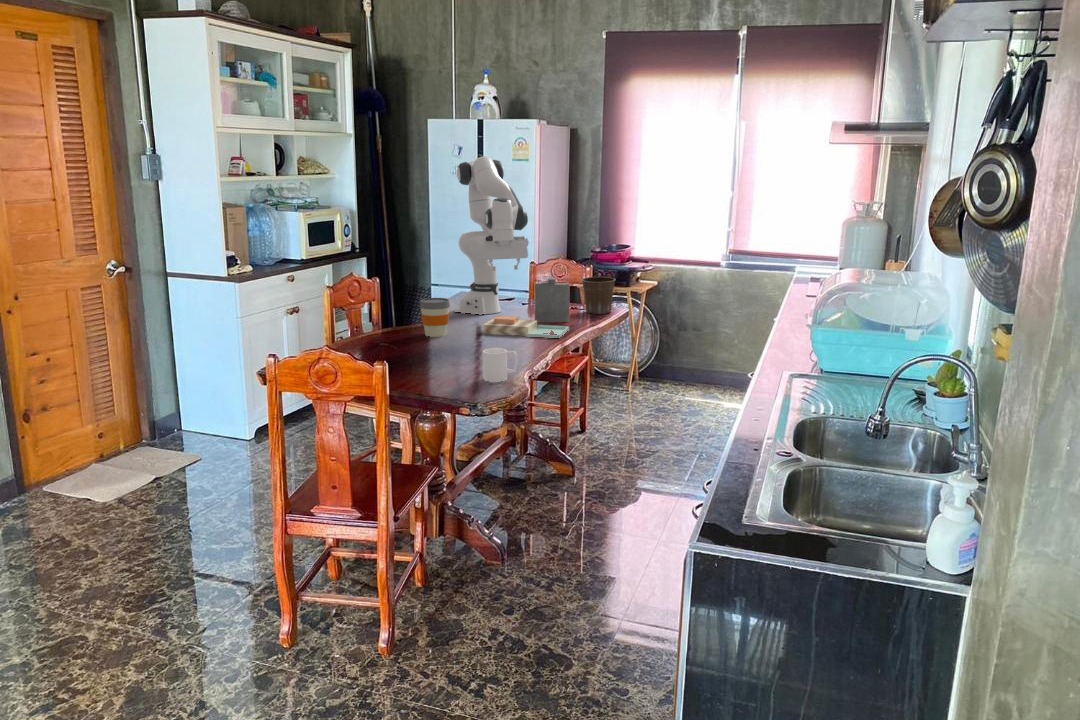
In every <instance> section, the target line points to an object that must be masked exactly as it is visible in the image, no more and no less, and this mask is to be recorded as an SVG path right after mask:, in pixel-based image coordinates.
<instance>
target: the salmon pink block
mask: <svg viewBox="0 0 1080 720" xmlns="http://www.w3.org/2000/svg"><path fill="white" fill-rule="evenodd" d="M518 320H519V317H518V316H504V315H498V316H496V317H494V323H500V324H515V323H517V322H518Z"/></svg>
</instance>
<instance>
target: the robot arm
mask: <svg viewBox="0 0 1080 720" xmlns="http://www.w3.org/2000/svg"><path fill="white" fill-rule="evenodd" d="M504 175H505V168H504V165H503V162H502V161H500V160H498V159H492V158H491V157H489V156H486V155H485V156H480V157H477V158H476V159H475V160H473V161H472V160H471V161H468V162H467V161H464V162H461V163H459V164H458V166H457V169H456V177H457V180H458V183H460V185H462V186H463V185H464V186H468V206H469V216H470V219H471V220H472V221H473V222H474V223H475V224H478V225H479V227H481V229H482V230H479V231H477V230H476V231H469V232H466V233H462V234H461V236H460V237H459V240H458V247H459V249H460V251H461V252H462V253H463V254H464V255H466V257H467V258H468V259H469V260H470V263H471V264H472V268H473V281H474V282H472V283H470V285H469V288H470V290H469V291H468V292H467V293H466V294H465V295H463V296H462V297H461V298H460V300H459V303H458V305H459V306H458V307H456V308H455V309H454V313H455V312H461V313H460V314H465V313H471V314H470V315H475V314H479V315H478V316H482V314H484V315H491V314H492V315H493V314H498V313H500V312H502V308H501V305H500V302H499V301H500V300H499V282H498V268H497V266H496V264H495V263H494V262H493V260H494V261H495V260H510V259H511V260H513V259H516V262H517V263H516V264H515V265H514V269H513V270H515V271H518V270H519V264H520V262H521V259H527V258H528V257H529V251H528V246H529V239H528V237H526V236H515V232H514V231H522V230H523V229H525V227H526V226H527V225H528V222H529V218H528V217H529V216H528V213H527V211H526V209H525V208H524V206H523V205H522V204H521V202H520V201H519V199H518V197H517V195H516V193H515V191H514V189H513V188H512V186H511V184H510V183H508V182H506V181H505V180H504ZM493 198H494V199H493Z"/></svg>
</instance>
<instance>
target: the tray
mask: <svg viewBox="0 0 1080 720" xmlns="http://www.w3.org/2000/svg"><path fill="white" fill-rule="evenodd" d="M551 330H552V331H553V332H554V334H557V335H550V334H549V333H550V332H551ZM567 331H568V332H569V331H570V326H564V325H562V326H561V325H549V324H548V325H547V324H546V325H545V324H537V329H536V330H535V331H533V332H532V333H527V336H526V338H530V337H546V338H545V339H547V337H548V338H560V337H561V336H562V335H563V336H565V335H564V334H565V333H566V332H567ZM568 332H567V333H568ZM543 333H548V334H543ZM567 333H566V334H567ZM563 336H562V337H563ZM562 337H561V338H562ZM561 338H560V339H561Z"/></svg>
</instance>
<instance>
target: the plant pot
mask: <svg viewBox="0 0 1080 720" xmlns="http://www.w3.org/2000/svg"><path fill="white" fill-rule="evenodd" d="M615 281H616V278H614V277H611V276H588V277H584V278H582V279H581V282H582V288H583V292H584V293H583V294H584V302H585V312H586V313H587V314H593V315H605V314H609V313H611V312H612V303H613V294H614V288H615Z"/></svg>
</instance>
